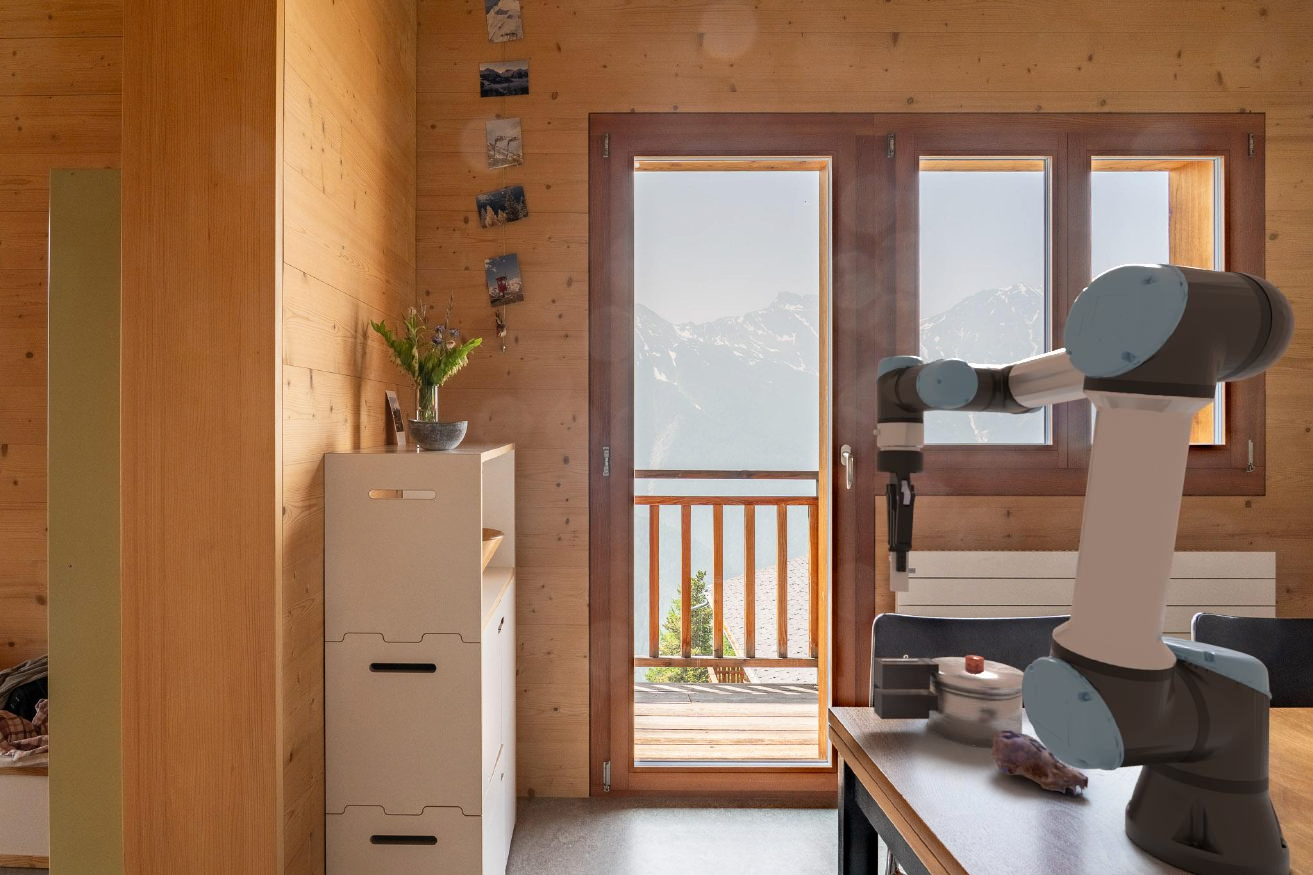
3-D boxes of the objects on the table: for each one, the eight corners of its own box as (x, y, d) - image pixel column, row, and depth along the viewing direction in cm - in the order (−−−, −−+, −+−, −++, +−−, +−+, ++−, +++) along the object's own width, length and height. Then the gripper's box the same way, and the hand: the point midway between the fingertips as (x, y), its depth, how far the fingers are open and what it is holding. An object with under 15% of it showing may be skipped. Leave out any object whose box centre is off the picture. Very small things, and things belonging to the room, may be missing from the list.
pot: (1042, 748, 113) (1043, 695, 113) (895, 749, 112) (896, 695, 112) (993, 714, 128) (993, 668, 128) (861, 715, 126) (862, 668, 126)
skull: (1097, 793, 98) (1097, 747, 99) (1069, 808, 94) (1070, 760, 94) (1009, 762, 108) (1009, 719, 108) (980, 774, 104) (980, 730, 104)
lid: (1047, 701, 113) (1047, 671, 113) (896, 701, 111) (897, 671, 111) (994, 672, 128) (995, 645, 128) (861, 672, 127) (862, 645, 127)
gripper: (871, 450, 131) (870, 583, 130) (883, 448, 118) (882, 596, 117) (914, 450, 130) (914, 585, 129) (932, 448, 117) (931, 598, 116)
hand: (899, 590), depth 123 cm, fingers closed
